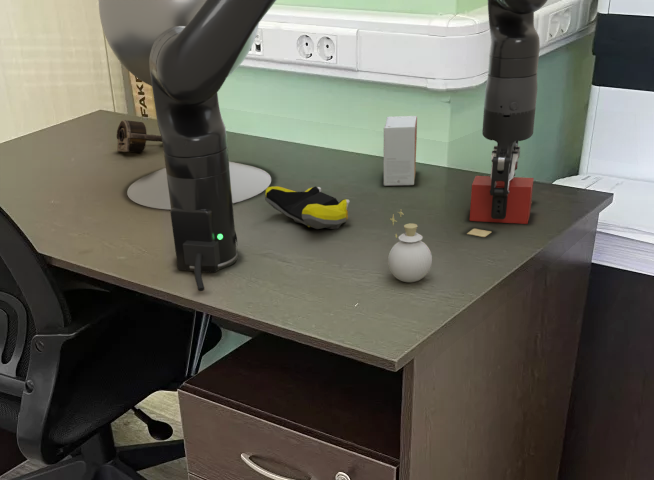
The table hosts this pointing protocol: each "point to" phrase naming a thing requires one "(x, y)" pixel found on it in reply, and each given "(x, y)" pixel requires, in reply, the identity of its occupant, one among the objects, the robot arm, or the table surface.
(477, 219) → the block
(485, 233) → the edge tape marks
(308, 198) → the black yellow shoe-shaped piece
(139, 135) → the mechanical counter
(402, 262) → the white potion bottle
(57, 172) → the table surface
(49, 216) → the table surface
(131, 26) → the desk lamp
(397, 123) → the small box
